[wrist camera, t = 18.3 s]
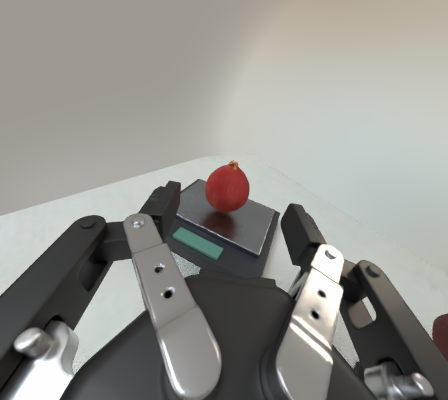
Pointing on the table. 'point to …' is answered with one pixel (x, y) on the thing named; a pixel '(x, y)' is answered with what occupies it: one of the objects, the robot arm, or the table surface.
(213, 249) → the scale
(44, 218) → the table surface
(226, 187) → the onion
